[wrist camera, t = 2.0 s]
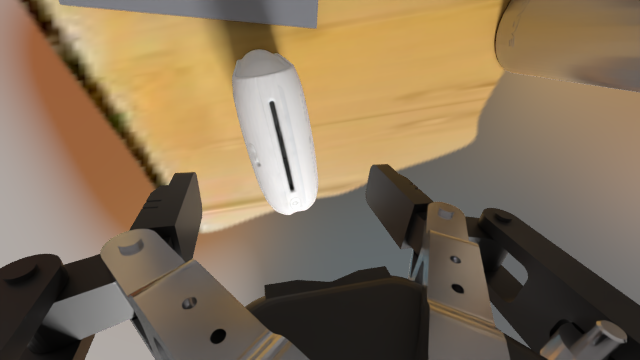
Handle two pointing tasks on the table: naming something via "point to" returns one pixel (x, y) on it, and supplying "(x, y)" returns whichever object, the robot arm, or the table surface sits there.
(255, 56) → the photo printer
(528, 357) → the robot arm
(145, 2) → the dock
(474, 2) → the table surface
